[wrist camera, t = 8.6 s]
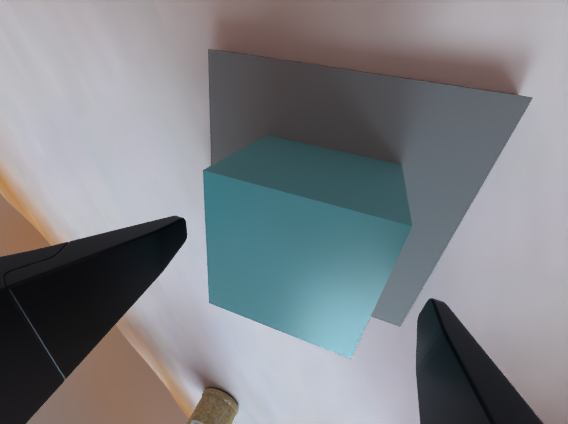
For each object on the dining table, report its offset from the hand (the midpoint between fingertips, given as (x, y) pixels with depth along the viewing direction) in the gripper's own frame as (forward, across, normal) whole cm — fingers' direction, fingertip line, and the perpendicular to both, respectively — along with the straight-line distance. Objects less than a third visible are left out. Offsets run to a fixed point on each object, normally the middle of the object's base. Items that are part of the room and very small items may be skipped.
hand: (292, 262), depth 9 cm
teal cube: (+4, 0, 0) cm, 4 cm away
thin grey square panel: (+5, 0, 0) cm, 5 cm away
